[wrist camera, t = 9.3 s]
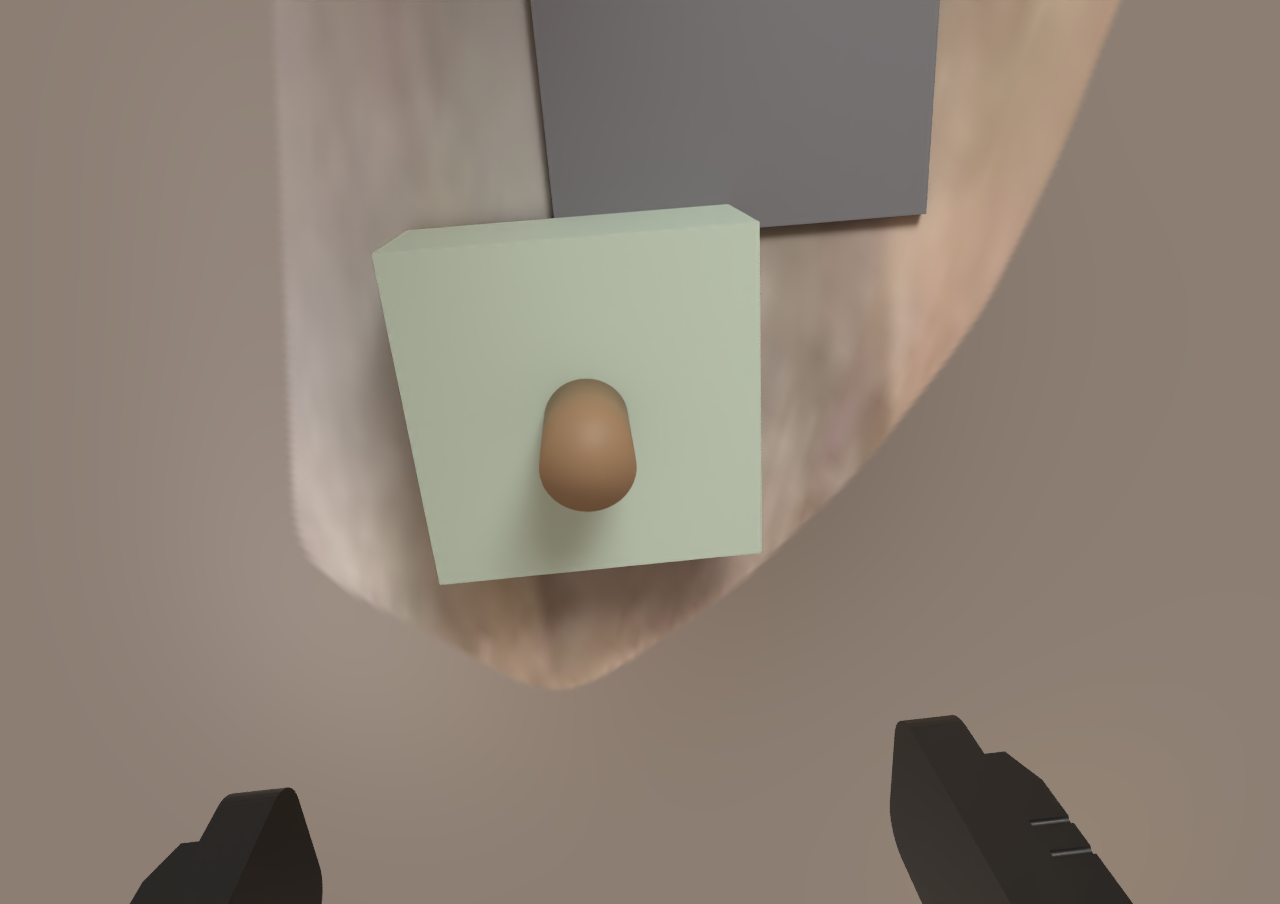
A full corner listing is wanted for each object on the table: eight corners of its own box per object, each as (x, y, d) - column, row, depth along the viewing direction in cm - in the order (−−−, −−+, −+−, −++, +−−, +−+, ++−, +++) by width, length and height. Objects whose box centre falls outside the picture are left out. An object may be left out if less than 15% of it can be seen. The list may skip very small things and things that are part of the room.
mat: (506, -224, 24) (505, -230, 23) (949, -248, 24) (956, -254, 24) (557, 243, 29) (556, 244, 29) (921, 213, 30) (926, 213, 29)
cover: (406, 230, 28) (332, 279, 19) (728, 203, 28) (793, 241, 20) (459, 515, 33) (419, 655, 24) (734, 489, 33) (789, 617, 25)
